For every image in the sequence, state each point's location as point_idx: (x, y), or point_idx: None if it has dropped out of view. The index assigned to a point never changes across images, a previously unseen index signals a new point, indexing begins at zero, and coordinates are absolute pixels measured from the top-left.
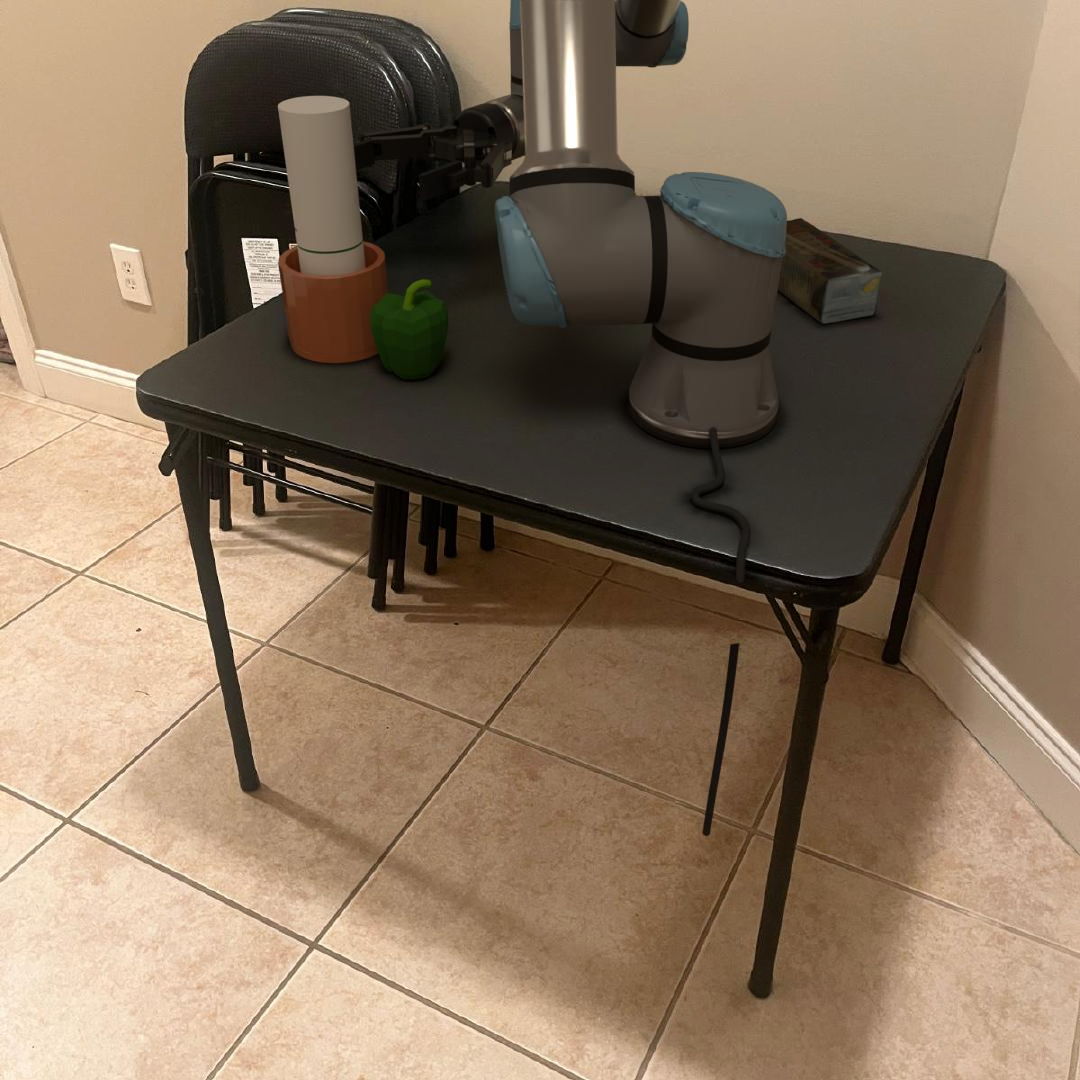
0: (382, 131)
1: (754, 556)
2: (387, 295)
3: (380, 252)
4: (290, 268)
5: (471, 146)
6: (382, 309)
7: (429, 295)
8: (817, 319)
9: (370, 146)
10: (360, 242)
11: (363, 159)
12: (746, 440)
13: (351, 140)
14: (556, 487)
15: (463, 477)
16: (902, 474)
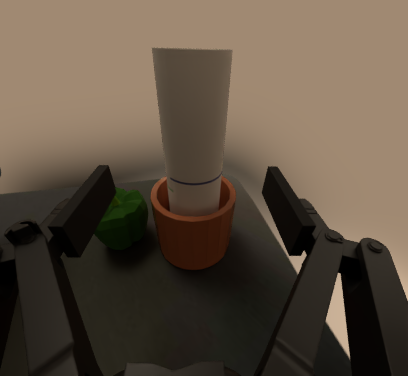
0: (398, 301)
1: None
2: (137, 202)
3: (166, 213)
4: (222, 190)
5: (41, 366)
6: (129, 191)
7: (105, 218)
8: None
9: (295, 225)
10: (171, 189)
11: (282, 222)
12: None
13: (159, 93)
14: (10, 200)
15: (61, 189)
16: None
